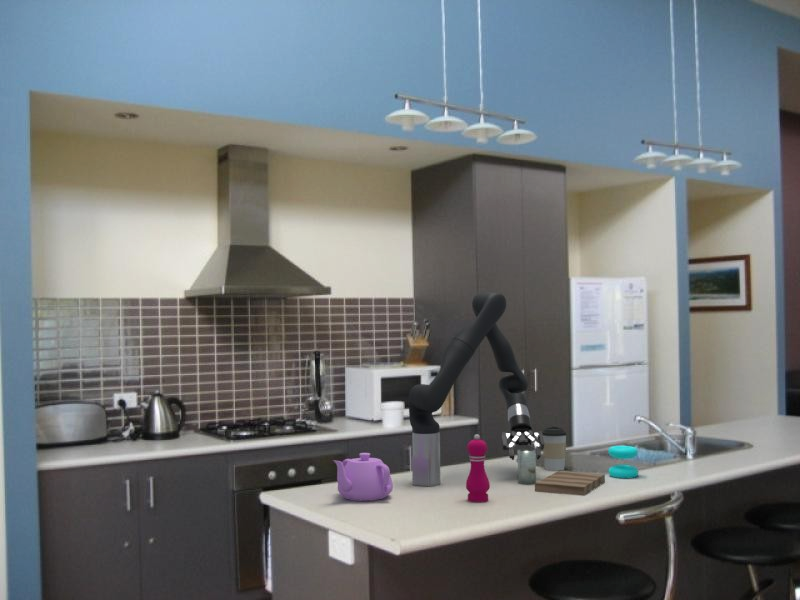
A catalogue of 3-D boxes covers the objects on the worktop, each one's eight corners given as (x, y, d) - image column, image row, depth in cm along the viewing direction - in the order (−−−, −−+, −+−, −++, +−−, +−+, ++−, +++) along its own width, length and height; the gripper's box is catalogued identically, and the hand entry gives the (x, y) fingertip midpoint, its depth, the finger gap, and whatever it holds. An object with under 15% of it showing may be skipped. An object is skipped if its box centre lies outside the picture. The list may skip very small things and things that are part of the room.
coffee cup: (567, 471, 308) (566, 429, 308) (541, 471, 309) (540, 429, 310) (567, 467, 317) (566, 426, 317) (542, 466, 318) (541, 426, 319)
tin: (532, 485, 283) (531, 451, 284) (515, 483, 286) (514, 450, 287) (538, 482, 289) (538, 449, 289) (521, 480, 292) (521, 448, 292)
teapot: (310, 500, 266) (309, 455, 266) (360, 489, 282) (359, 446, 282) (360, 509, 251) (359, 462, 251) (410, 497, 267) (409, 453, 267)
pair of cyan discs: (637, 445, 301) (638, 449, 291) (637, 474, 301) (639, 479, 291) (607, 444, 303) (608, 449, 294) (608, 473, 303) (608, 478, 293)
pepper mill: (474, 496, 266) (473, 432, 267) (494, 499, 262) (493, 433, 262) (461, 500, 261) (460, 434, 261) (481, 503, 256) (480, 436, 257)
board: (584, 495, 266) (583, 487, 266) (534, 491, 274) (534, 483, 274) (604, 481, 287) (604, 474, 287) (558, 478, 295) (558, 471, 295)
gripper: (500, 413, 298) (505, 452, 287) (540, 412, 299) (548, 451, 287) (498, 427, 304) (503, 465, 292) (538, 426, 304) (545, 464, 292)
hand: (525, 458), depth 290 cm, fingers open, 8 cm apart
